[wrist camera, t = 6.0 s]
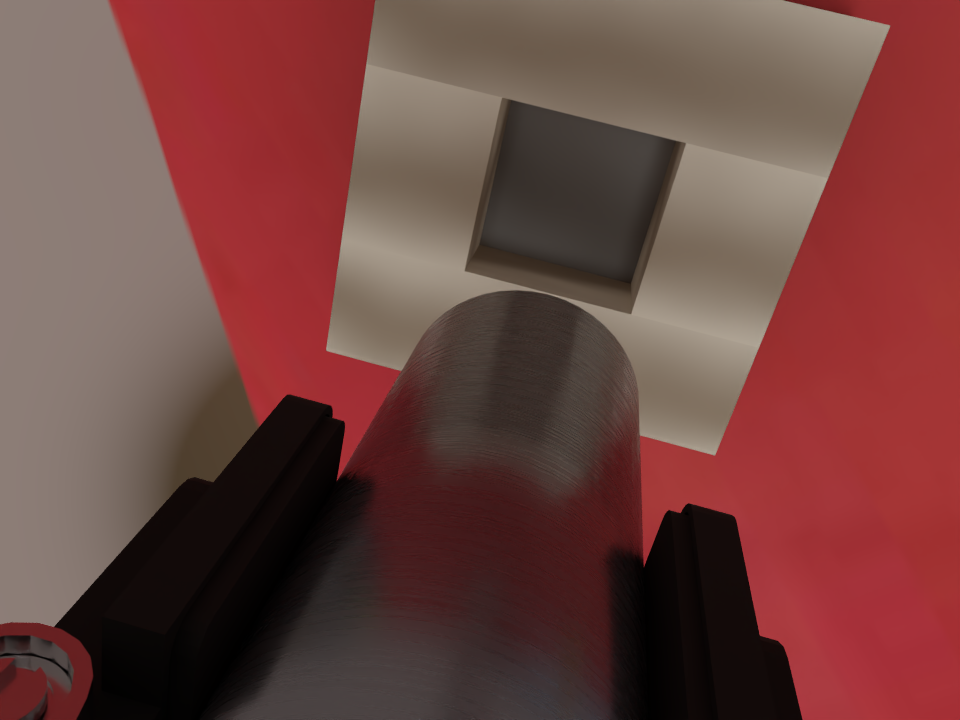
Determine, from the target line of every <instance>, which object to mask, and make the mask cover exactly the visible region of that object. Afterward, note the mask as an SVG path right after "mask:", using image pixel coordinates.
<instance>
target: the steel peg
mask: <svg viewBox="0 0 960 720" xmlns="http://www.w3.org/2000/svg"><path fill="white" fill-rule="evenodd" d="M198 720H648V699H647V665H646V631H645V597H644V563H643V529H642V495H641V461H640V427H639V395H638V386H637V381H636V376H635V373H634V370H633V367H632V365H631V362H630V360H629V358H628V356H627V354H626V352H625V350H624V349H623V347H622V346H621V344H620V343H619V342H618V340H617V339H616V337H615V336H614V335H613V334H612V333H611V332H610V331H609V330H608V329H607V327H606V326H605V325H604V324H602V323H601V322H600V321H599V320H597V319H596V318H595V317H594V316H593V315H591V314H590V313H588V312H586V311H585V310H583V309H582V308H580V307H579V306H576V305H574V304H572V303H570V302H568V301H566V300H564V299H561V298H558V297H554V296H551V295H548V294H543V293H538V292H533V291H520V290H511V291H498V292H493V293H487V294H483V295H480V296H477V297H474V298H470V299H468V300H466V301H464V302H462V303H460V304H458V305H456V306H454V307H453V308H451V309H450V310H448V311H447V312H445V313H444V314H443V315H441V316H440V317H439V318H438V319H437V320H436V321H435V322H433V323H432V325H431V326H430V327H429V328H428V329H427V330H426V332H425V333H424V334H423V336H422V337H421V339H420V341H419V342H418V344H417V345H416V347H415V349H414V350H413V352H412V354H411V356H410V357H409V359H408V361H407V362H406V364H405V366H404V368H403V369H402V371H401V373H400V374H399V376H398V378H397V379H396V381H395V383H394V385H393V386H392V388H391V390H390V391H389V393H388V395H387V397H386V398H385V400H384V402H383V403H382V405H381V407H380V409H379V410H378V412H377V414H376V415H375V417H374V419H373V421H372V422H371V424H370V426H369V427H368V429H367V431H366V432H365V434H364V436H363V438H362V439H361V441H360V443H359V444H358V446H357V448H356V450H355V451H354V453H353V455H352V456H351V458H350V460H349V462H348V463H347V465H346V467H345V468H344V470H343V472H342V474H341V475H340V477H339V479H338V480H337V482H336V484H335V485H334V487H333V489H332V491H331V492H330V494H329V496H328V497H327V499H326V501H325V503H324V504H323V506H322V508H321V509H320V511H319V513H318V515H317V516H316V518H315V520H314V521H313V523H312V525H311V527H310V528H309V530H308V532H307V533H306V535H305V537H304V539H303V540H302V542H301V544H300V545H299V547H298V549H297V550H296V552H295V554H294V556H293V557H292V559H291V561H290V562H289V564H288V566H287V568H286V569H285V571H284V573H283V574H282V576H281V578H280V580H279V581H278V583H277V585H276V586H275V588H274V590H273V592H272V593H271V595H270V597H269V598H268V600H267V602H266V603H265V605H264V607H263V609H262V610H261V612H260V614H259V615H258V617H257V619H256V621H255V622H254V624H253V626H252V627H251V629H250V631H249V633H248V634H247V636H246V638H245V639H244V641H243V643H242V645H241V646H240V648H239V650H238V651H237V653H236V655H235V656H234V658H233V660H232V662H231V663H230V665H229V667H228V668H227V670H226V672H225V674H224V675H223V677H222V679H221V680H220V682H219V684H218V686H217V687H216V689H215V691H214V692H213V694H212V696H211V698H210V699H209V701H208V703H207V704H206V706H205V708H204V709H203V711H202V713H201V715H200V716H199V718H198Z"/></svg>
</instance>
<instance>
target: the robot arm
mask: <svg viewBox="0 0 960 720" xmlns="http://www.w3.org/2000/svg"><path fill="white" fill-rule="evenodd" d="M332 416H333V411H332V407H331V406H330V405H326V404H323V403H319V402H315V401H312V400H308V399H304V398H301V397H297V396H293V395H286V396H285V397H284V398H283V399H282V401H281V402H280V403H279V404H278V405H277V407H276V408H275V409H274V410H273V411H272V413H271V414H270V415H269V416H268V417H267V419H266V420H265V421H264V422H263V423H262V425H261V426H260V427H259V428H258V429H257V431H256V432H255V433H254V434H253V435H252V437H251V438H250V439H249V440H248V441H247V443H246V444H245V445H244V446H243V447H242V449H241V450H240V451H239V452H238V453H237V455H236V456H235V457H234V458H233V460H232V461H231V462H230V463H229V464H228V465H227V467H226V468H225V469H224V470H223V471H222V473H221V474H220V475H219V476H218V477H217V479H216V480H215V481H214V482H210V481H206V480H202V479H199V478H195V477H194V478H190V479H187V480H186V481H185V482H184V483H183V484H182V485H181V486H179V488H178V489H177V490H176V491H175V492H174V493H173V494H172V495H171V497H170V498H169V499H168V500H167V501H166V502H165V503H164V504H163V506H162V507H161V508H160V509H159V510H158V511H157V512H156V513H155V515H154V516H153V517H152V518H151V519H150V520H149V521H148V522H147V523H146V525H145V526H144V527H143V528H142V529H141V530H140V531H139V532H138V534H137V535H136V536H135V537H134V538H133V539H132V540H131V541H130V542H129V544H128V545H127V546H126V547H125V548H124V549H123V550H122V551H121V553H120V554H119V555H118V556H117V557H116V558H115V559H114V561H113V562H112V563H111V564H110V565H109V566H108V567H107V568H106V569H105V570H104V572H103V573H102V574H101V575H100V576H99V578H97V579H96V581H95V582H94V583H93V584H92V585H91V586H90V588H88V590H87V591H86V592H85V593H84V594H83V595H82V596H81V597H80V599H79V600H78V601H77V602H76V603H75V604H74V605H73V606H72V608H71V609H70V610H69V611H68V612H67V613H66V614H65V615H64V616H63V618H62V619H61V620H60V621H59V622H58V623H57V624H56V625H55V627H51V626H48V625H44V624H40V623H12V622H11V623H5V624H0V720H198V718H199V716H200V715H201V713H202V711H203V709H204V708H205V706H206V704H207V703H208V701H209V699H210V698H211V696H212V694H213V692H214V691H215V689H216V687H217V686H218V684H219V682H220V680H221V679H222V677H223V675H224V674H225V672H226V670H227V668H228V667H229V665H230V663H231V662H232V660H233V658H234V656H235V655H236V653H237V651H238V650H239V648H240V646H241V645H242V643H243V641H244V639H245V638H246V636H247V634H248V633H249V631H250V629H251V627H252V626H253V624H254V622H255V621H256V619H257V617H258V615H259V614H260V612H261V610H262V609H263V607H264V605H265V603H266V602H267V600H268V598H269V597H270V595H271V593H272V592H273V590H274V588H275V586H276V585H277V583H278V581H279V580H280V578H281V576H282V574H283V573H284V571H285V569H286V568H287V566H288V564H289V562H290V561H291V559H292V557H293V556H294V554H295V552H296V550H297V549H298V547H299V545H300V544H301V542H302V540H303V539H304V537H305V535H306V533H307V532H308V530H309V528H310V527H311V525H312V523H313V521H314V520H315V518H316V516H317V515H318V513H319V511H320V509H321V508H322V506H323V504H324V503H325V501H326V499H327V497H328V496H329V494H330V492H331V491H332V489H333V487H334V485H335V484H336V481H337V475H338V469H339V463H340V456H341V450H342V444H343V438H344V431H345V423H344V421H341V420H337V419H334V418H332ZM644 597H645V631H646V665H647V699H648V720H802V716H801V712H800V708H799V703H798V699H797V695H796V691H795V687H794V682H793V678H792V674H791V670H790V666H789V661H788V657H787V655H786V652H785V649H784V647H783V646H782V645H781V644H780V643H779V642H778V641H776V640H773V639H769V638H766V637H762V636H760V635H759V630H758V625H757V620H756V616H755V611H754V606H753V601H752V596H751V591H750V586H749V581H748V576H747V571H746V566H745V562H744V557H743V552H742V547H741V542H740V537H739V532H738V527H737V522H736V519H735V517H734V516H732V515H730V514H726V513H722V512H719V511H715V510H711V509H708V508H704V507H700V506H697V505H693V504H689V503H688V504H687V505H685V507H684V508H683V510H682V512H681V513H677V512H674V511H670V510H669V511H667V512H666V514H665V515H664V518H663V520H662V522H661V525H660V528H659V530H658V533H657V535H656V538H655V540H654V543H653V546H652V548H651V551H650V553H649V556H648V558H647V561H646V564H645V566H644Z"/></svg>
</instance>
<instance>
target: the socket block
mask: <svg viewBox="0 0 960 720" xmlns="http://www.w3.org/2000/svg"><path fill="white" fill-rule="evenodd" d="M889 28H890V25H885V24H881V23H877V22H873V21H868V20H864V19H860V18H856V17H852V16H847V15H843V14H839V13H835V12H830V11H826V10H822V9H818V8H813V7H809V6H805V5H801V4H796V3H792V2H788V1H784V0H375V6H374V14H373V21H372V28H371V35H370V42H369V49H368V56H367V63H366V71H365V78H364V85H363V92H362V99H361V106H360V113H359V120H358V127H357V135H356V142H355V149H354V156H353V163H352V170H351V177H350V184H349V192H348V199H347V206H346V213H345V220H344V227H343V234H342V241H341V249H340V256H339V263H338V270H337V277H336V284H335V291H334V298H333V305H332V313H331V320H330V327H329V334H328V341H327V348H326V351H329V352H333V353H337V354H340V355H344V356H348V357H351V358H355V359H359V360H363V361H366V362H370V363H374V364H377V365H381V366H385V367H389V368H392V369H396V370H400V371H402V369H403V368H404V366H405V364H406V362H407V361H408V359H409V357H410V356H411V354H412V352H413V350H414V349H415V347H416V345H417V344H418V342H419V341H420V339H421V337H422V336H423V334H424V333H425V332H426V330H427V329H428V328H429V327H430V326H431V325H432V323H433V322H435V321H436V320H437V319H438V318H439V317H440V316H441V315H443V314H444V313H445V312H447V311H448V310H450V309H451V308H453V307H454V306H456V305H458V304H460V303H462V302H464V301H466V300H468V299H470V298H474V297H477V296H480V295H483V294H487V293H493V292H498V291H511V290H520V291H533V292H538V293H543V294H548V295H551V296H554V297H558V298H561V299H564V300H566V301H568V302H570V303H572V304H574V305H576V306H579V307H580V308H582V309H583V310H585V311H586V312H588V313H590V314H591V315H593V316H594V317H595V318H596V319H597V320H599V321H600V322H601V323H602V324H604V325H605V326H606V327H607V329H608V330H609V331H610V332H611V333H612V334H613V335H614V336H615V337H616V339H617V340H618V342H619V343H620V344H621V346H622V347H623V349H624V350H625V352H626V354H627V356H628V358H629V360H630V362H631V365H632V367H633V370H634V373H635V376H636V381H637V386H638V395H639V427H640V435H641V436H645V437H649V438H652V439H656V440H660V441H664V442H667V443H671V444H675V445H678V446H682V447H686V448H690V449H693V450H697V451H701V452H704V453H708V454H712V455H715V454H716V452H717V449H718V447H719V444H720V442H721V439H722V437H723V434H724V432H725V430H726V427H727V425H728V422H729V420H730V417H731V415H732V412H733V410H734V407H735V405H736V403H737V400H738V398H739V395H740V393H741V390H742V388H743V385H744V383H745V381H746V378H747V376H748V373H749V371H750V368H751V366H752V363H753V361H754V358H755V356H756V354H757V351H758V349H759V346H760V344H761V341H762V339H763V336H764V334H765V332H766V329H767V327H768V324H769V322H770V319H771V317H772V314H773V312H774V309H775V307H776V305H777V302H778V300H779V297H780V295H781V292H782V290H783V287H784V285H785V283H786V280H787V278H788V275H789V273H790V270H791V268H792V265H793V263H794V260H795V258H796V256H797V253H798V251H799V248H800V246H801V243H802V241H803V238H804V236H805V234H806V231H807V229H808V226H809V224H810V221H811V219H812V216H813V214H814V211H815V209H816V207H817V204H818V202H819V199H820V197H821V194H822V192H823V189H824V187H825V185H826V182H827V180H828V177H829V175H830V172H831V170H832V167H833V165H834V162H835V160H836V158H837V155H838V153H839V150H840V148H841V145H842V143H843V140H844V138H845V136H846V133H847V131H848V128H849V126H850V123H851V121H852V118H853V116H854V113H855V111H856V109H857V106H858V104H859V101H860V99H861V96H862V94H863V91H864V89H865V87H866V84H867V82H868V79H869V77H870V74H871V72H872V69H873V67H874V64H875V62H876V60H877V57H878V55H879V52H880V50H881V47H882V45H883V42H884V40H885V38H886V35H887V33H888V30H889Z"/></svg>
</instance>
